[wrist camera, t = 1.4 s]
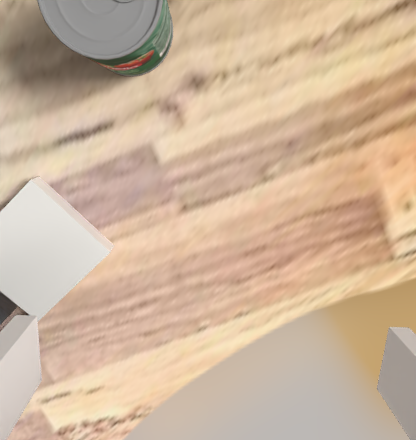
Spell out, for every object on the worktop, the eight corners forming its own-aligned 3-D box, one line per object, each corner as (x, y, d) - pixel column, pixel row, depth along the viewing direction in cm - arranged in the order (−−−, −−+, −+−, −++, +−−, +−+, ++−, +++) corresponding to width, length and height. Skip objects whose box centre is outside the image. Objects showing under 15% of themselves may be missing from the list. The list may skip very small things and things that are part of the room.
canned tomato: (98, 84, 35) (56, 71, 25) (73, -9, 33) (15, -68, 23) (182, 66, 35) (175, 44, 24) (162, -29, 33) (145, -98, 22)
